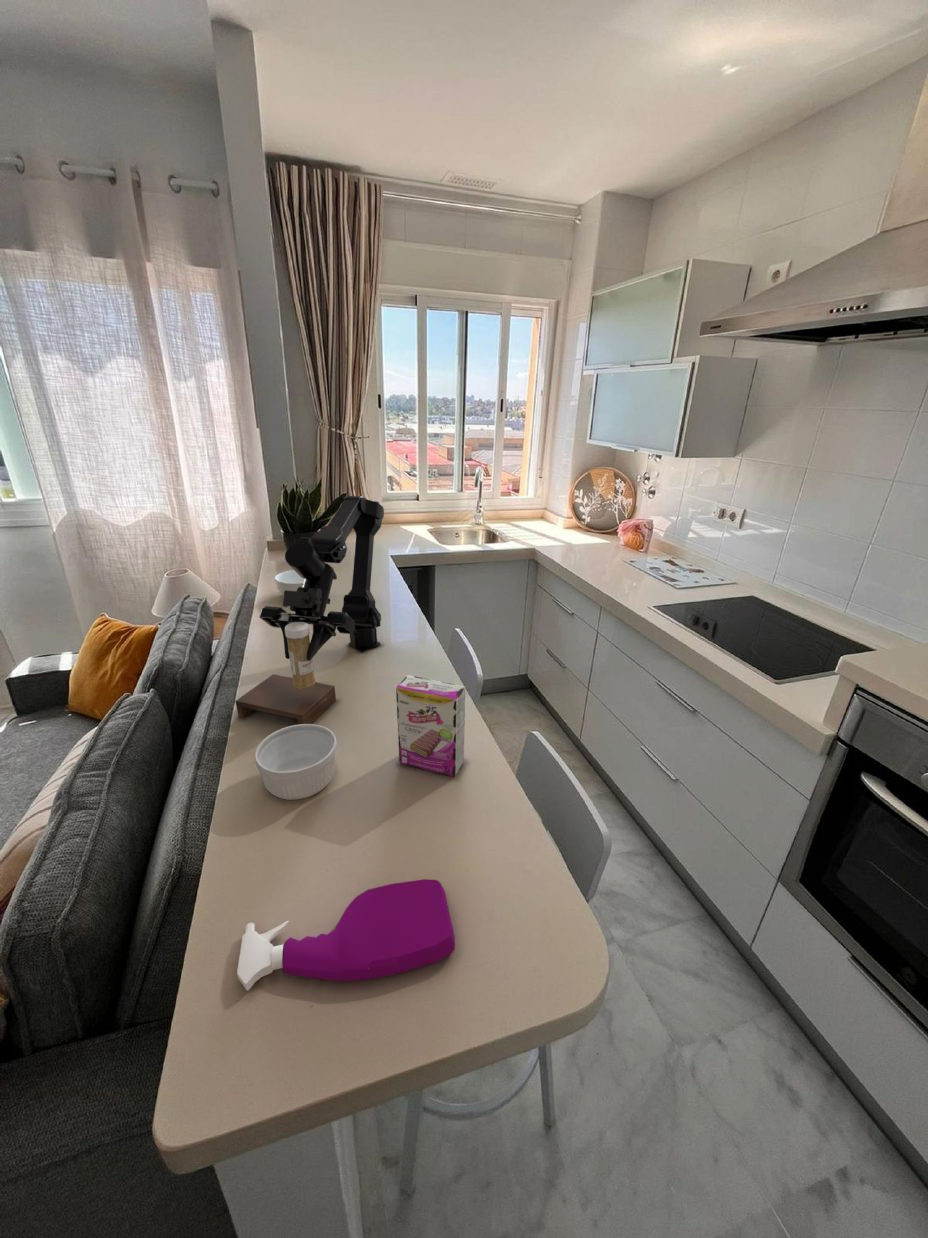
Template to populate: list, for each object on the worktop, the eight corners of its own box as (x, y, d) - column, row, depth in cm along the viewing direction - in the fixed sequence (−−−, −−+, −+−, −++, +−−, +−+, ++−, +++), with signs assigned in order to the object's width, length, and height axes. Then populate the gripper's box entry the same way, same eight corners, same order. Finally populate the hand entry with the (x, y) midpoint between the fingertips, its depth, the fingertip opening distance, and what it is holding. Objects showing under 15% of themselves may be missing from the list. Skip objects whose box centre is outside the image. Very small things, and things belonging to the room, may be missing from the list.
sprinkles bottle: (313, 689, 101) (305, 630, 96) (290, 690, 101) (281, 630, 96) (318, 678, 105) (310, 620, 100) (296, 678, 105) (288, 620, 100)
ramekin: (296, 818, 78) (291, 783, 75) (243, 787, 84) (236, 753, 82) (355, 771, 88) (352, 738, 86) (304, 746, 95) (300, 715, 92)
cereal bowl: (319, 603, 165) (317, 583, 162) (269, 602, 165) (266, 582, 162) (332, 587, 181) (330, 568, 178) (287, 586, 181) (284, 567, 178)
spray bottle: (458, 965, 57) (232, 1020, 52) (441, 884, 67) (249, 923, 62) (458, 948, 56) (227, 1002, 51) (440, 868, 66) (245, 907, 61)
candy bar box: (398, 765, 90) (394, 687, 83) (409, 749, 94) (406, 673, 88) (455, 779, 86) (456, 699, 80) (465, 762, 91) (466, 684, 84)
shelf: (275, 689, 114) (273, 674, 112) (336, 701, 109) (334, 685, 108) (238, 717, 103) (235, 700, 102) (303, 732, 99) (301, 715, 97)
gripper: (256, 568, 99) (233, 642, 93) (344, 574, 96) (325, 650, 90) (282, 592, 109) (262, 659, 104) (362, 598, 106) (346, 668, 101)
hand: (297, 659), depth 99 cm, fingers closed on sprinkles bottle, 4 cm apart
